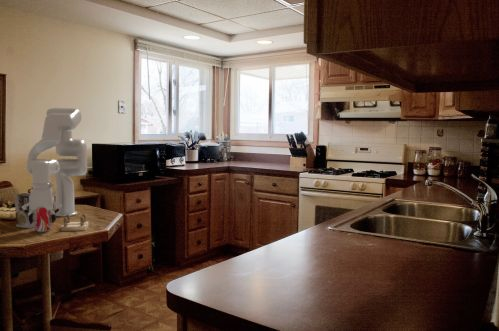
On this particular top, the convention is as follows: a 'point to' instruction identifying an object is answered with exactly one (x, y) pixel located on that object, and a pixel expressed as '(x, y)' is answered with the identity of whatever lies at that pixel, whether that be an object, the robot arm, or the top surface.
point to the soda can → (42, 219)
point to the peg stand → (74, 224)
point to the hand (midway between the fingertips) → (42, 222)
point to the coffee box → (22, 211)
